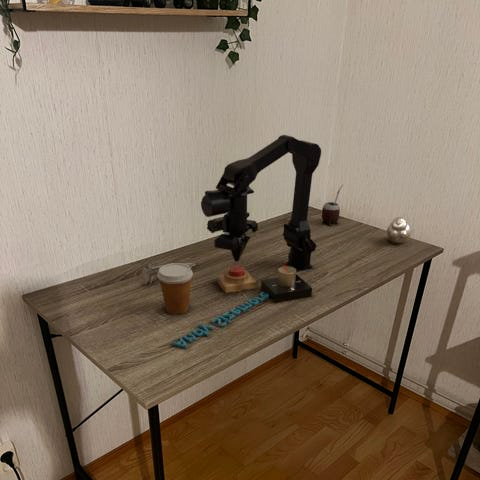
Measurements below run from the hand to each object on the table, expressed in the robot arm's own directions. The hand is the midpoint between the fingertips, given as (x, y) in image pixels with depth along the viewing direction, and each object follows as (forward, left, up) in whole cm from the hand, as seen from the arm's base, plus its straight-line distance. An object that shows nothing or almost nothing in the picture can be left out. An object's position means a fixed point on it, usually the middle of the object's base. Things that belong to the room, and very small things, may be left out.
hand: (236, 261), depth 148 cm
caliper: (+17, -14, -8) cm, 24 cm away
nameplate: (+11, +19, -8) cm, 23 cm away
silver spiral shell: (-69, -12, -8) cm, 70 cm away
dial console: (-12, +10, -8) cm, 18 cm away
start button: (0, 0, -4) cm, 4 cm away
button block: (0, 0, -8) cm, 8 cm away
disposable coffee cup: (+21, +8, -8) cm, 24 cm away
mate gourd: (-57, -40, -8) cm, 70 cm away
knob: (-12, +10, -5) cm, 16 cm away
